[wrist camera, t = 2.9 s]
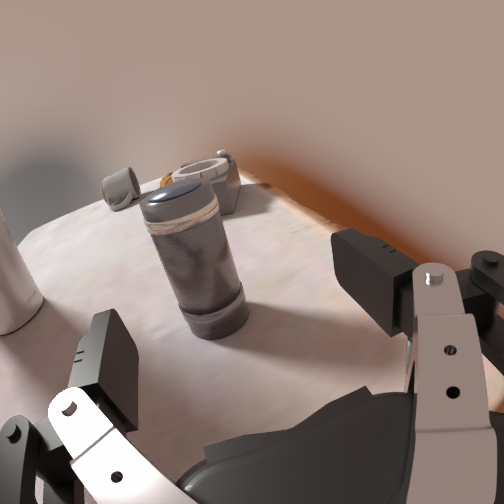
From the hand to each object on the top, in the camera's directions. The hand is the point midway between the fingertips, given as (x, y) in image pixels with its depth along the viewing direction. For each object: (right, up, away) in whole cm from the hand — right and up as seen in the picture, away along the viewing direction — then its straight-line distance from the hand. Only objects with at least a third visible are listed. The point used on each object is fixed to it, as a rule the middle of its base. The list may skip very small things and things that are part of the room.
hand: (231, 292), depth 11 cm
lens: (-2, -4, +15) cm, 15 cm away
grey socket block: (-6, +10, +42) cm, 43 cm away
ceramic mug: (-29, +13, +59) cm, 67 cm away
